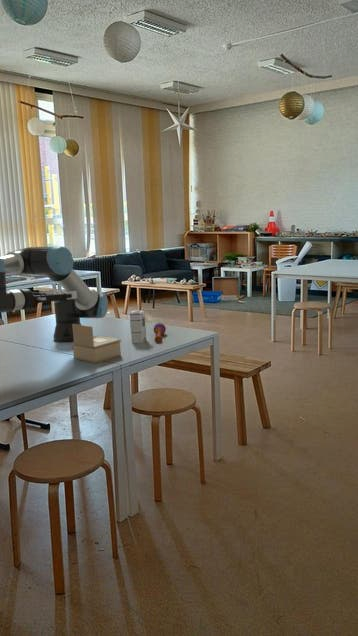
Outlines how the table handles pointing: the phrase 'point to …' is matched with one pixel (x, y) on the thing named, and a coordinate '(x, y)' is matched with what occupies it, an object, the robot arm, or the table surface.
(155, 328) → the kendama
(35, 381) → the table surface
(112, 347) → the box
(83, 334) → the lid
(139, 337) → the syrup box
